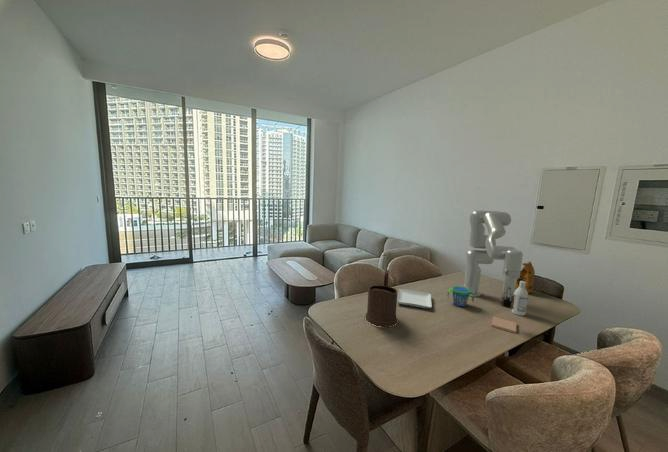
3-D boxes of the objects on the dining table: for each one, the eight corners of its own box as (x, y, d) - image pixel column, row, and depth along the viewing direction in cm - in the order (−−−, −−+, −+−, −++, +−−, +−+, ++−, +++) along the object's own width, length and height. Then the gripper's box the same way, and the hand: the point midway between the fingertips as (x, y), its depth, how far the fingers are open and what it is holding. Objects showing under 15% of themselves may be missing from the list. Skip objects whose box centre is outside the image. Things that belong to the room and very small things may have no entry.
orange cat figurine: (511, 290, 193) (515, 261, 189) (519, 287, 199) (523, 259, 196) (526, 295, 184) (531, 265, 181) (534, 291, 191) (539, 263, 187)
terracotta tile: (491, 326, 141) (491, 324, 141) (493, 318, 150) (493, 316, 149) (516, 333, 135) (516, 331, 134) (516, 324, 143) (516, 322, 143)
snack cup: (471, 303, 169) (473, 288, 167) (474, 310, 159) (476, 294, 157) (446, 298, 174) (447, 284, 173) (446, 305, 164) (448, 290, 163)
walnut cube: (500, 306, 139) (501, 296, 139) (501, 302, 144) (502, 293, 143) (513, 309, 136) (514, 299, 136) (513, 305, 141) (514, 295, 140)
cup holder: (360, 323, 140) (363, 279, 136) (370, 305, 162) (372, 266, 158) (395, 331, 134) (399, 285, 130) (400, 310, 156) (403, 270, 152)
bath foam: (527, 314, 156) (532, 282, 152) (521, 316, 152) (526, 284, 149) (515, 309, 162) (520, 278, 159) (508, 311, 159) (513, 280, 156)
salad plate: (431, 311, 156) (432, 306, 156) (395, 305, 163) (396, 300, 162) (430, 297, 176) (431, 293, 175) (398, 293, 183) (399, 288, 182)
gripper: (503, 267, 146) (499, 298, 149) (502, 275, 133) (497, 308, 135) (519, 270, 142) (515, 301, 145) (520, 278, 128) (515, 313, 131)
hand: (507, 304), depth 140 cm, fingers closed on walnut cube, 5 cm apart
